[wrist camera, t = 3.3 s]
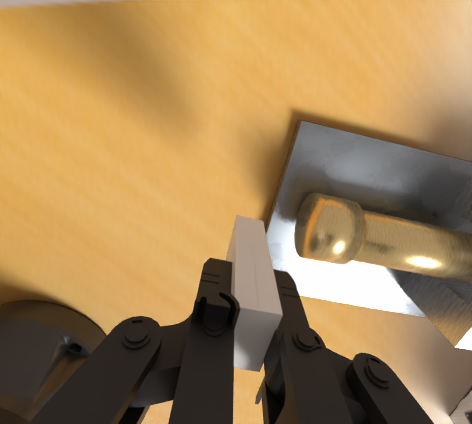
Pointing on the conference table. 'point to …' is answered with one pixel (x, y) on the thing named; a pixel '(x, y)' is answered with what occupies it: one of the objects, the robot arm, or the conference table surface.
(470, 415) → the hard drive box
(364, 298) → the block
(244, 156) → the conference table surface
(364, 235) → the pin
